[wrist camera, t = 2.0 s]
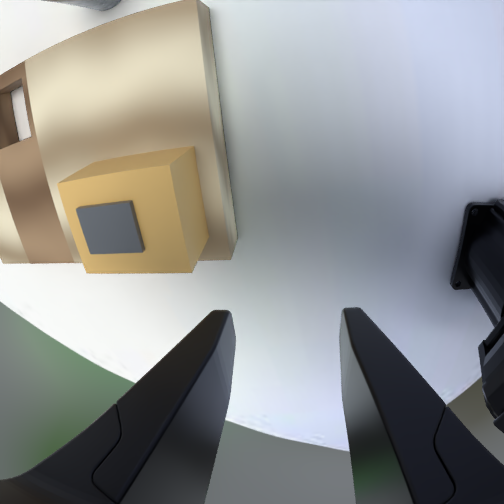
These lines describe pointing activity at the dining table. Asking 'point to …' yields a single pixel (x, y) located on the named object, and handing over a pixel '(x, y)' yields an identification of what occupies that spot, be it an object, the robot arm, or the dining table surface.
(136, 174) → the block
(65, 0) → the peg
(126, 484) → the robot arm
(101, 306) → the dining table surface
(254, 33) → the dining table surface
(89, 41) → the subfloor board
